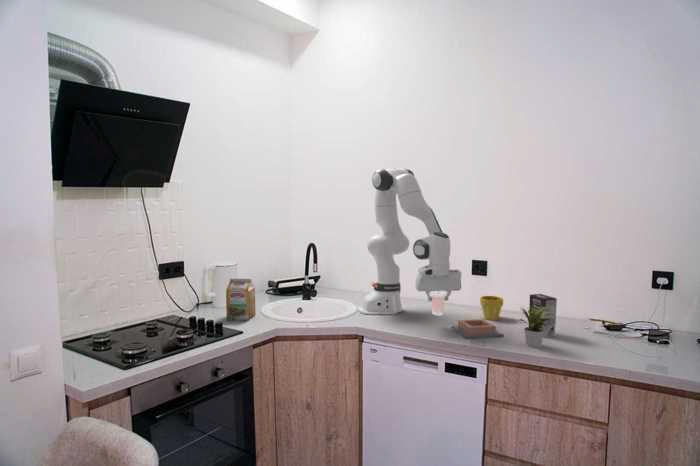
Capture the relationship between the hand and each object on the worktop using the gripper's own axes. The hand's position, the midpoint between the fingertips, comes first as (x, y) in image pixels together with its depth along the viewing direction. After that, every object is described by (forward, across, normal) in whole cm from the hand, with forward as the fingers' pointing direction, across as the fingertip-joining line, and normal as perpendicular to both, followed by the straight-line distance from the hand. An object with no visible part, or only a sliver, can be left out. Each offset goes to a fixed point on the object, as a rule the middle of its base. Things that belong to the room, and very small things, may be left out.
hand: (437, 300), depth 202 cm
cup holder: (+11, -14, +11) cm, 21 cm away
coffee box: (+11, -40, +18) cm, 45 cm away
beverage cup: (+6, 0, 0) cm, 6 cm away
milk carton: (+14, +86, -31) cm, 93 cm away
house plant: (+11, -26, +31) cm, 42 cm away
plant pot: (+12, -30, -9) cm, 34 cm away
